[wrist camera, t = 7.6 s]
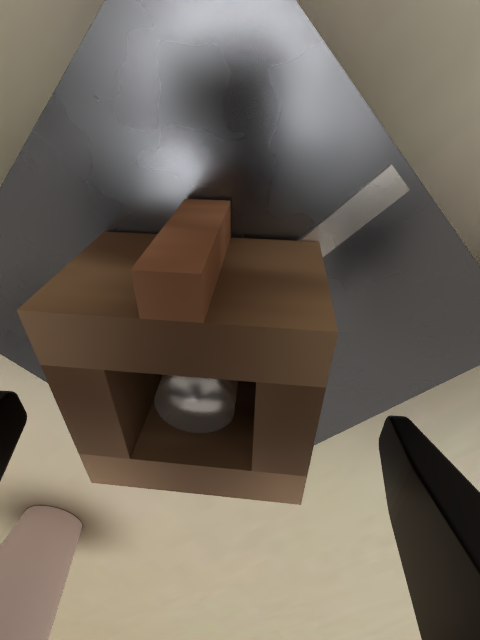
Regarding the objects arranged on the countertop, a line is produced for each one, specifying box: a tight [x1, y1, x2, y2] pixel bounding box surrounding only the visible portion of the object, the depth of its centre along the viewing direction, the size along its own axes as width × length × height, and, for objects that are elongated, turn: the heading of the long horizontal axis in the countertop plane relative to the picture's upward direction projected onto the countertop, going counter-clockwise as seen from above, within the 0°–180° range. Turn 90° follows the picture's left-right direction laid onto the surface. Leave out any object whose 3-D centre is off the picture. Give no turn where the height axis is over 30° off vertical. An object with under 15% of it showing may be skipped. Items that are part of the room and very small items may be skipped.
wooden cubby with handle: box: [17, 199, 338, 505], centre depth 10 cm, size 6×7×4 cm
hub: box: [0, 0, 480, 445], centre depth 11 cm, size 14×14×4 cm
